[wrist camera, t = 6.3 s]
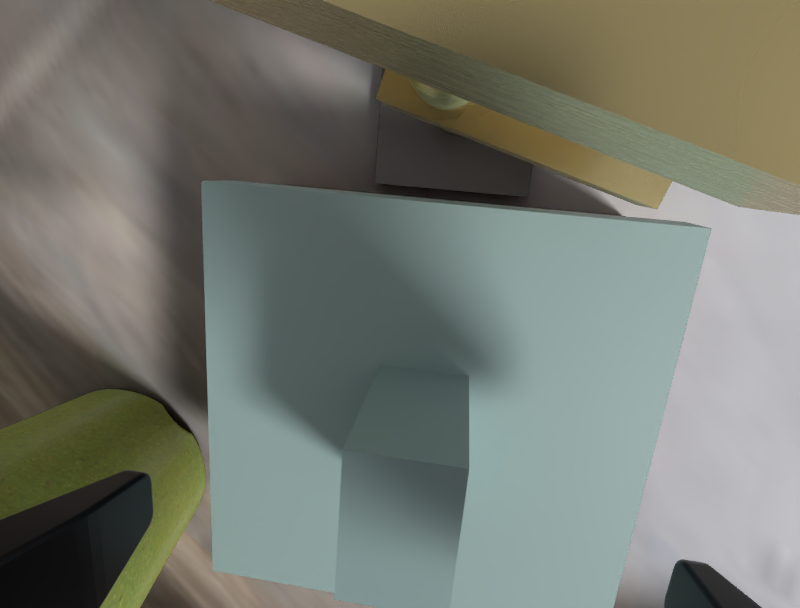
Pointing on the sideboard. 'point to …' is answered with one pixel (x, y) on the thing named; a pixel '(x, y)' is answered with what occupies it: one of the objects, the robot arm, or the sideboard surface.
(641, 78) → the key
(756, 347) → the sideboard surface
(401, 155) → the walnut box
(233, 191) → the lid
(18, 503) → the plant pot
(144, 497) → the robot arm
